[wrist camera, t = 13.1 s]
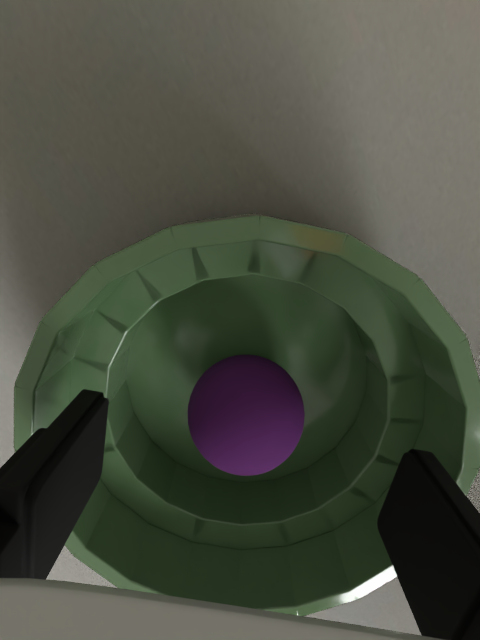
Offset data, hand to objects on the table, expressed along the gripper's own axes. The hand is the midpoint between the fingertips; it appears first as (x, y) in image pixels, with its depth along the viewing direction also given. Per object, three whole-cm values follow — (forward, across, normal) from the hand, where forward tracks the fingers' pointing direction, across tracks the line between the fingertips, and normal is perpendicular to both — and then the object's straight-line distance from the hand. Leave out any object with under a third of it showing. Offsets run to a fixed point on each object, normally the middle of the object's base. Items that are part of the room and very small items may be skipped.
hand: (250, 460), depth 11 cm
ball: (+5, 0, 0) cm, 5 cm away
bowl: (+5, 0, 0) cm, 5 cm away
